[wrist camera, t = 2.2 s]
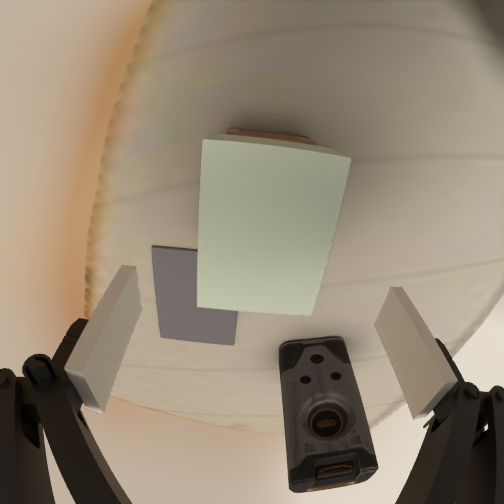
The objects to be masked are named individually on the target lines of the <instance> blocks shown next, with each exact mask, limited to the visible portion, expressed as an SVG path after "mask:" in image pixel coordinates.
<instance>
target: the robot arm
mask: <svg viewBox="0 0 504 504" xmlns="http://www.w3.org/2000/svg"><path fill="white" fill-rule="evenodd" d="M141 310H142V307H141V300H140V293H139V286H138V278H137V269H136V266H128V265H122V266H121V267H120V269H119V271H118V272H117V274H116V275H115V277H114V279H113V280H112V282H111V283H110V285H109V287H108V288H107V290H106V292H105V293H104V295H103V297H102V298H101V300H100V302H99V304H98V305H97V307H96V309H95V311H94V312H93V314H92V316H91V318H90V319H89V320H87V319H82V318H79V319H78V320H77V321H76V322H74V323H73V324H72V325H71V326H70V328H69V329H68V331H67V333H66V336H64V338H63V340H62V342H61V344H60V345H59V347H58V349H57V351H56V353H55V355H54V356H53V358H52V360H51V359H50V357H48V356H47V355H45V354H34V355H32V356H30V357H29V358H28V359H27V360H26V361H25V362H24V365H23V367H22V373H23V374H24V376H25V377H16V376H15V374H14V373H13V371H12V370H10V369H6V368H3V369H0V504H55V500H54V496H53V492H52V487H51V482H50V477H49V471H48V465H47V459H46V451H45V444H44V434H43V428H44V431H45V434H46V437H47V440H48V443H49V445H50V448H51V450H52V453H53V456H54V458H55V460H56V463H57V465H58V468H59V470H60V472H61V475H62V477H63V478H64V481H65V483H66V485H67V487H68V489H69V491H70V493H71V495H72V497H73V499H74V501H75V503H76V504H132V502H131V501H130V500H129V498H128V497H127V495H126V493H125V492H124V490H123V489H122V487H121V486H120V484H119V483H118V481H117V479H116V478H115V476H114V474H113V472H112V471H111V469H110V467H109V466H108V464H107V462H106V460H105V458H104V457H103V455H102V453H101V452H100V449H99V447H98V445H97V443H96V441H95V439H94V437H93V435H92V433H91V431H90V429H89V427H88V425H87V423H86V420H85V418H84V416H83V414H82V412H81V410H80V408H81V405H82V403H84V404H85V406H86V408H87V409H89V410H93V411H96V412H100V413H104V411H105V408H106V405H107V401H108V398H109V395H110V393H111V390H112V387H113V384H114V381H115V378H116V375H117V372H118V370H119V367H120V364H121V361H122V359H123V356H124V353H125V351H126V348H127V345H128V343H129V340H130V338H131V335H132V333H133V330H134V327H135V325H136V322H137V320H138V318H139V315H140V313H141ZM374 326H375V328H376V330H377V332H378V335H379V337H380V339H381V341H382V344H383V346H384V348H385V350H386V353H387V355H388V357H389V360H390V362H391V364H392V367H393V369H394V371H395V374H396V376H397V379H398V381H399V384H400V386H401V389H402V391H403V394H404V396H405V399H406V401H407V404H408V407H409V409H410V412H411V415H412V417H413V419H418V418H422V417H426V416H427V415H428V414H429V413H430V412H431V411H432V410H433V411H434V414H435V415H434V416H433V417H432V418H431V419H430V420H429V421H428V422H427V423H426V424H425V425H424V426H423V428H425V427H426V426H427V425H428V424H429V427H428V429H427V432H426V435H425V438H424V441H423V443H422V446H421V449H420V451H419V454H418V456H417V459H416V461H415V463H414V466H413V468H412V470H411V472H410V475H409V477H408V479H407V481H406V483H405V485H404V487H403V489H402V491H401V493H400V495H399V497H398V499H397V501H396V503H395V504H504V388H503V387H501V386H494V387H493V388H492V389H491V390H490V391H489V392H482V391H479V389H478V388H477V386H476V385H474V384H473V383H470V382H465V381H464V379H463V377H462V375H461V373H460V372H459V370H458V368H457V366H456V364H455V363H454V361H452V357H451V356H450V354H449V352H448V350H447V349H446V347H445V345H444V344H443V343H442V342H441V341H440V340H439V339H438V338H436V339H434V337H433V335H432V334H431V332H430V330H429V329H428V327H427V325H426V324H425V322H424V320H423V319H422V317H421V316H420V314H419V313H418V311H417V309H416V308H415V306H414V305H413V303H412V302H411V300H410V299H409V297H408V295H407V294H406V292H405V291H404V289H403V288H402V287H390V290H389V292H388V295H387V297H386V299H385V302H384V304H383V306H382V308H381V311H380V313H379V315H378V317H377V320H376V322H375V324H374ZM487 424H488V429H487V430H486V431H485V429H484V427H485V426H486V425H487Z"/></svg>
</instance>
